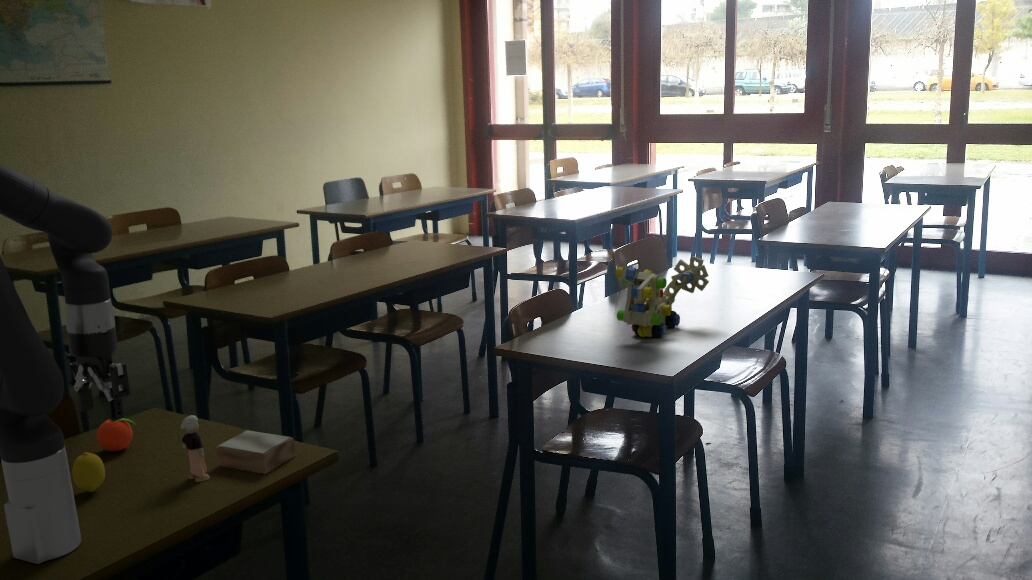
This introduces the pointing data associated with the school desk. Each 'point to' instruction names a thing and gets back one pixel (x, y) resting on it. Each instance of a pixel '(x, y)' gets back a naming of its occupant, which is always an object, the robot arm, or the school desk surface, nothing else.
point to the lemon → (88, 471)
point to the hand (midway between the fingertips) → (101, 414)
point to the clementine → (114, 434)
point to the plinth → (255, 451)
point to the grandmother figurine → (194, 449)
